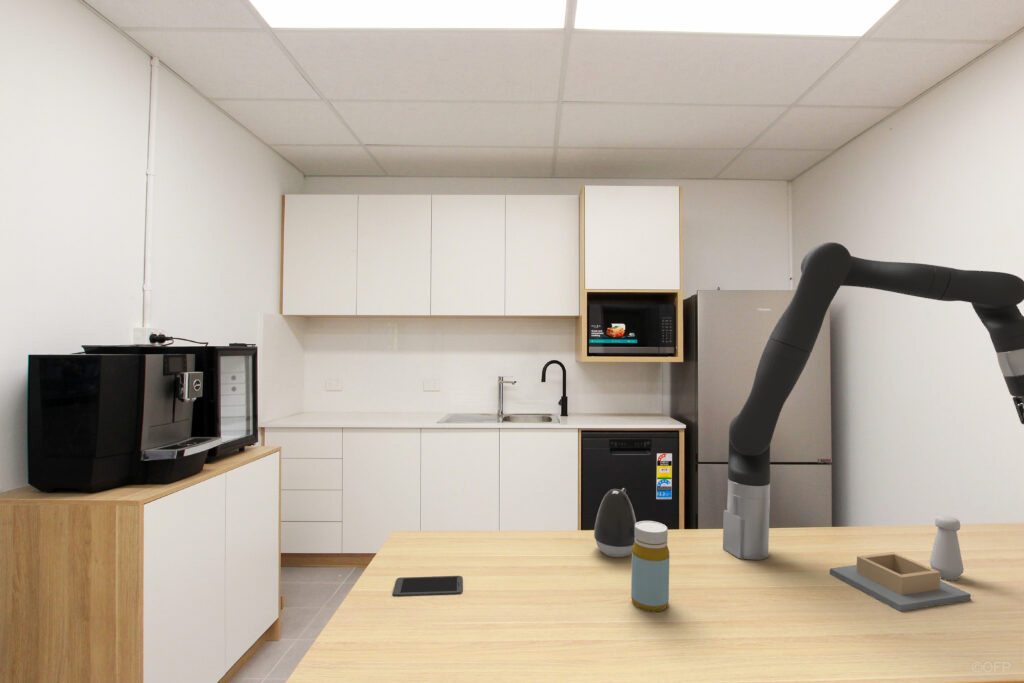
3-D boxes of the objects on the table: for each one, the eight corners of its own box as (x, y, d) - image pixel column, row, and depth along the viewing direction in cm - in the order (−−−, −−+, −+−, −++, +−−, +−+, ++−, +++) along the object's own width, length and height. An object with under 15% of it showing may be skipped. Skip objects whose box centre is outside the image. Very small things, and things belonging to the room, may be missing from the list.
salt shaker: (969, 584, 112) (971, 523, 112) (938, 581, 113) (940, 520, 113) (952, 571, 118) (954, 513, 118) (923, 569, 119) (925, 511, 119)
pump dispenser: (643, 550, 128) (644, 487, 127) (628, 566, 119) (629, 498, 119) (604, 540, 133) (605, 480, 133) (586, 555, 124) (587, 491, 124)
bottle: (669, 597, 105) (670, 522, 105) (667, 615, 98) (668, 535, 98) (633, 591, 107) (634, 518, 107) (629, 608, 101) (630, 530, 100)
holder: (900, 611, 101) (900, 586, 101) (829, 573, 116) (830, 552, 116) (970, 600, 106) (971, 576, 105) (893, 565, 121) (894, 544, 121)
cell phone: (396, 580, 112) (396, 577, 112) (462, 578, 113) (462, 575, 113) (391, 598, 104) (391, 594, 104) (462, 596, 106) (462, 592, 106)
